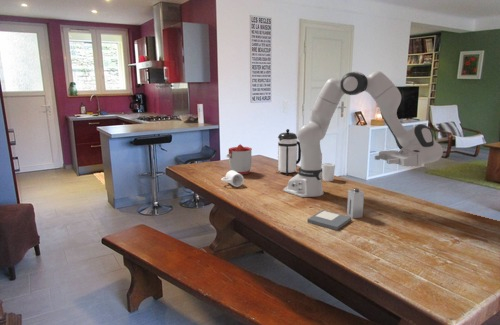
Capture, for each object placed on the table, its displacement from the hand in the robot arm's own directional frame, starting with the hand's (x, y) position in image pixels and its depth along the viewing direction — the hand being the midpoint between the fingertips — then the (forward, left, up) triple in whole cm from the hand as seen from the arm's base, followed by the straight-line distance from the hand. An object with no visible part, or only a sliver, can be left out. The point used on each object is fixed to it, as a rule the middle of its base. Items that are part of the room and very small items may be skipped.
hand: (381, 159), depth 156 cm
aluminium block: (-7, -10, -26) cm, 28 cm away
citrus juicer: (-100, +15, -26) cm, 104 cm away
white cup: (-45, +37, -26) cm, 64 cm away
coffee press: (-75, +37, -26) cm, 88 cm away
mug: (-85, -9, -26) cm, 89 cm away
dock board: (-13, -23, -26) cm, 37 cm away
